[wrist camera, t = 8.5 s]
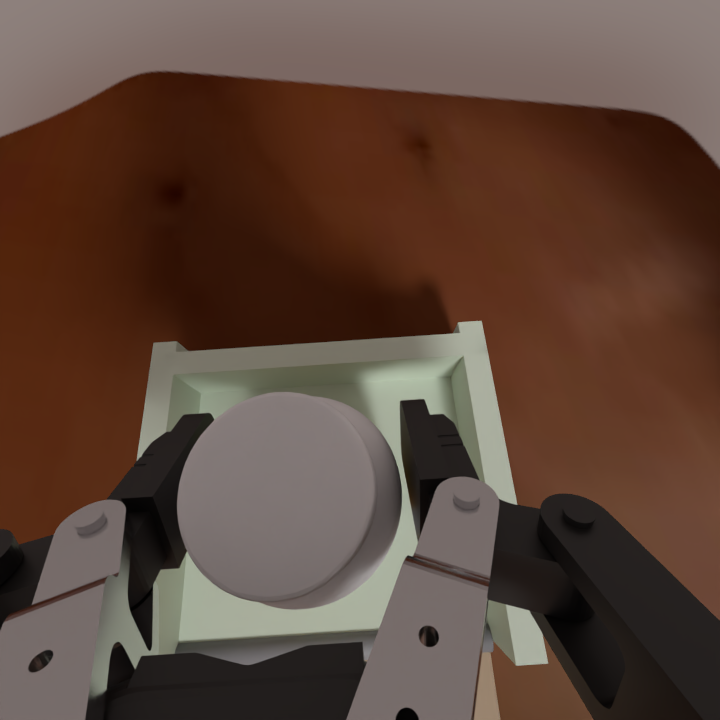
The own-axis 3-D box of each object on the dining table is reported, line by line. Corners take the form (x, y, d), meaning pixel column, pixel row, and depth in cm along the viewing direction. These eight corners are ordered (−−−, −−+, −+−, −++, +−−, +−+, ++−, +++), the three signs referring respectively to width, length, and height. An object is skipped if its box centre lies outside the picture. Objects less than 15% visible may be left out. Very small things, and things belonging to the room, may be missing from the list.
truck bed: (461, 355, 20) (481, 320, 16) (533, 788, 14) (591, 890, 10) (193, 373, 20) (153, 342, 16) (150, 812, 14) (70, 922, 10)
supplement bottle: (298, 420, 18) (214, 330, 9) (409, 458, 17) (443, 401, 8) (249, 541, 16) (82, 582, 7) (371, 590, 15) (358, 709, 6)
